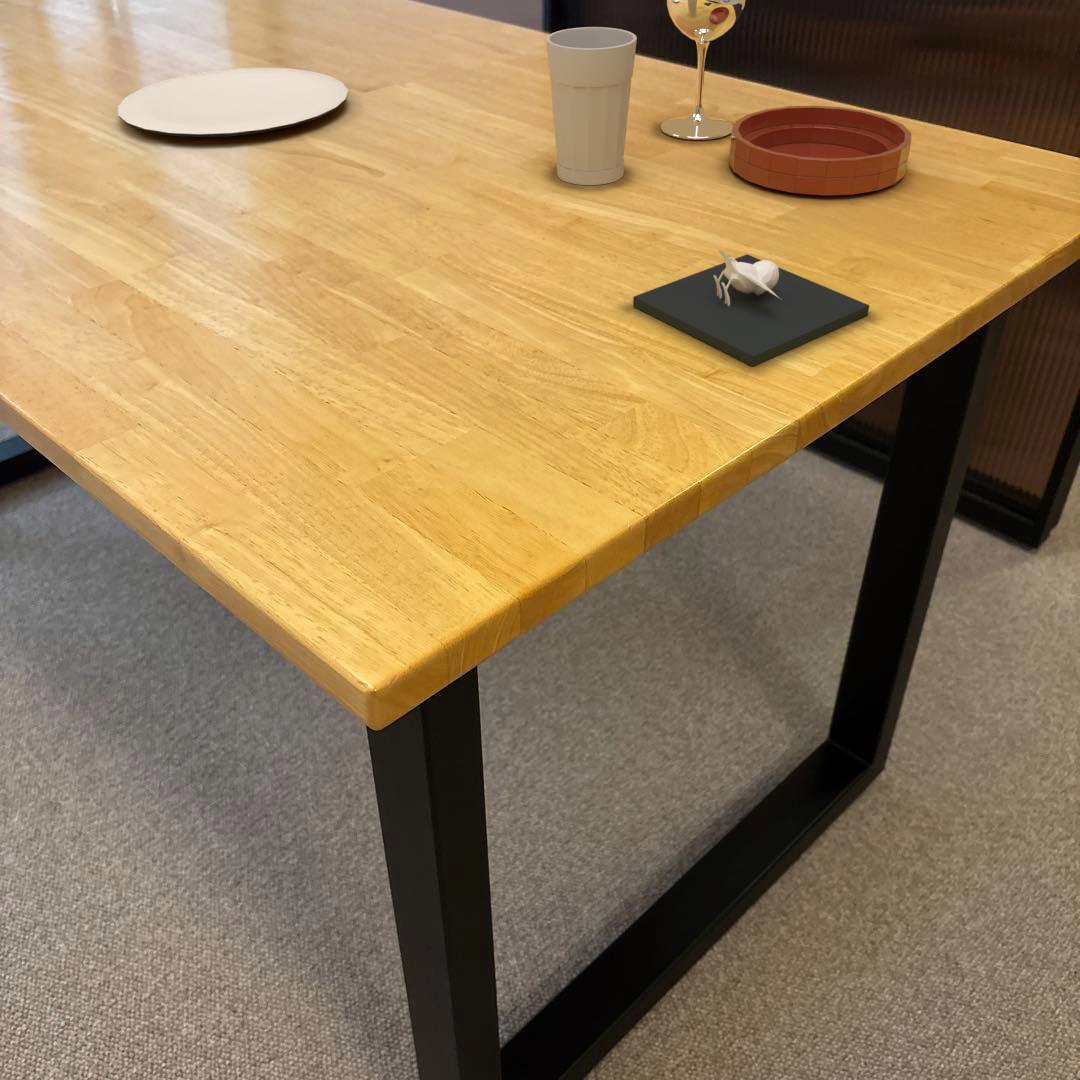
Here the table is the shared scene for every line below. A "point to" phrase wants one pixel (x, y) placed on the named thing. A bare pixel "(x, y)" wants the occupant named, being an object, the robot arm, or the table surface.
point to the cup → (590, 101)
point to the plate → (232, 102)
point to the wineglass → (701, 60)
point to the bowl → (819, 150)
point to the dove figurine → (748, 277)
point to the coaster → (750, 312)
